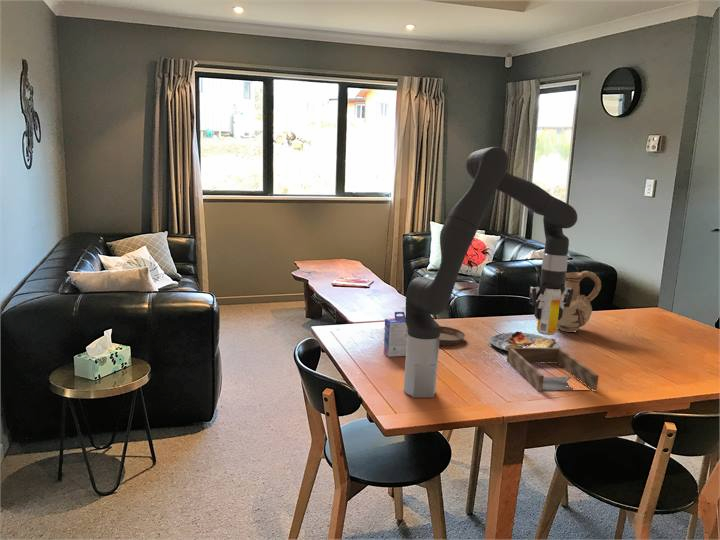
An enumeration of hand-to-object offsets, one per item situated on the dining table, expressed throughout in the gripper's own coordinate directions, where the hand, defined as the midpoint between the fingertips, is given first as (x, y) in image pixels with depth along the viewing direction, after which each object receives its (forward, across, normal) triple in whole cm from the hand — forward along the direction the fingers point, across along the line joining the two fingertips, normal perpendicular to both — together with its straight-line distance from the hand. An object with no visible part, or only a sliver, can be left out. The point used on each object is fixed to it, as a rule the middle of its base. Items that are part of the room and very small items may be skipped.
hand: (547, 319), depth 187 cm
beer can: (+5, 0, 0) cm, 5 cm away
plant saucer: (+18, -26, +31) cm, 44 cm away
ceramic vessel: (+17, +30, +45) cm, 57 cm away
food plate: (+18, +3, +22) cm, 29 cm away
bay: (+17, 0, -5) cm, 18 cm away
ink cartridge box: (+18, -45, +15) cm, 51 cm away
